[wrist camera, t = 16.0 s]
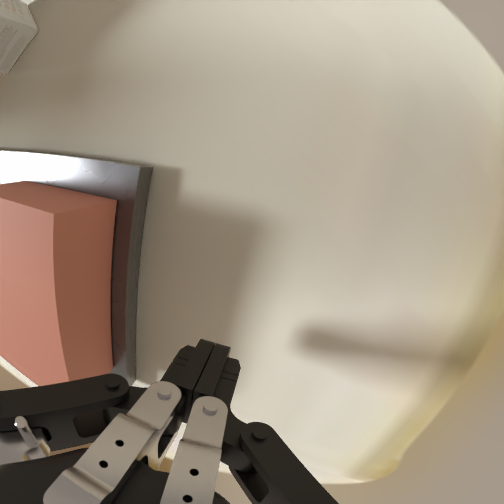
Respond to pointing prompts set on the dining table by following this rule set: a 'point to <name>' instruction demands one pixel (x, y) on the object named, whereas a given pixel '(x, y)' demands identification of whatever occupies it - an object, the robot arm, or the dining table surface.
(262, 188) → the dining table surface
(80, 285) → the sliding jaw
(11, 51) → the small box
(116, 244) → the vise
